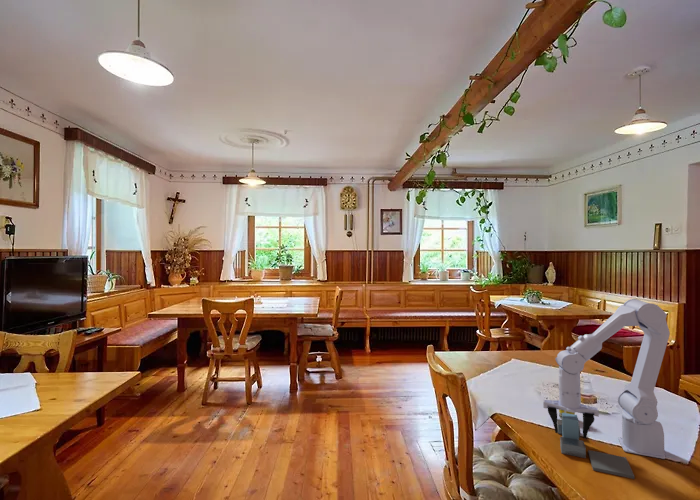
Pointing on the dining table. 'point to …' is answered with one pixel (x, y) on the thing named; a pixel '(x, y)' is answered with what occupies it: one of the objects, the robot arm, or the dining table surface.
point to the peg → (570, 426)
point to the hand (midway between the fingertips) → (570, 434)
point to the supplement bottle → (564, 412)
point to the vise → (571, 444)
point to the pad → (610, 464)
